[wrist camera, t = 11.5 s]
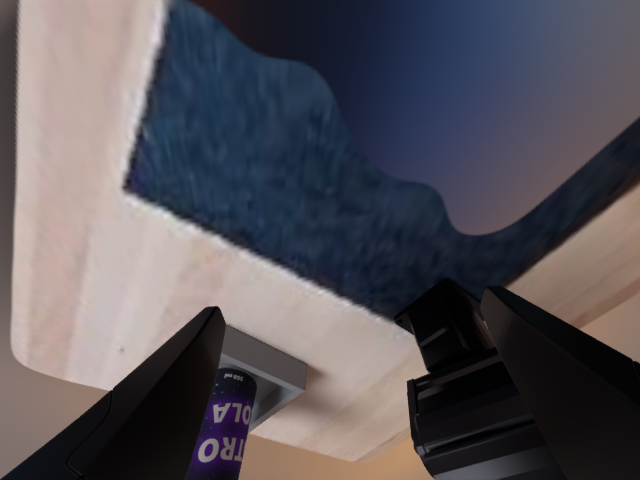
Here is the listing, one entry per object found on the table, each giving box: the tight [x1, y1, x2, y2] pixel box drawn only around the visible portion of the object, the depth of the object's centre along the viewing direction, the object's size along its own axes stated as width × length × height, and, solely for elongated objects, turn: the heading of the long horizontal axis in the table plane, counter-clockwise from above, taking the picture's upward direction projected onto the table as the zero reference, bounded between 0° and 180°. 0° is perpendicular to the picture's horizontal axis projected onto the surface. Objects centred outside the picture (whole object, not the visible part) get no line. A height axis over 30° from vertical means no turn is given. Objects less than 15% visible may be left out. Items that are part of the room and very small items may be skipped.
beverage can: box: [185, 365, 257, 480], centre depth 25 cm, size 6×6×12 cm
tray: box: [219, 325, 307, 433], centre depth 30 cm, size 12×12×3 cm
